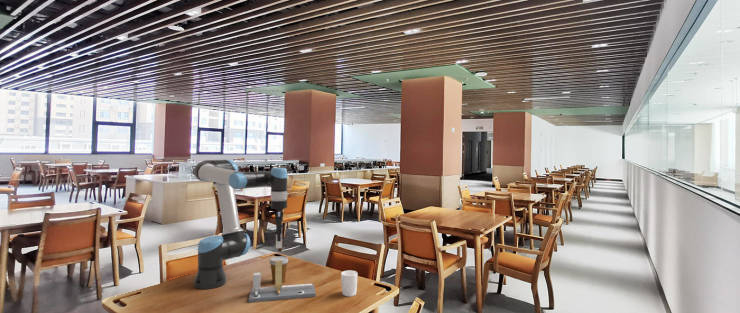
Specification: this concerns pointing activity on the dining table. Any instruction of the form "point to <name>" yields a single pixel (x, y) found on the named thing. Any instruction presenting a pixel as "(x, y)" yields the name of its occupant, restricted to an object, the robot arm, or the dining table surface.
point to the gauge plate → (285, 291)
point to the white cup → (349, 282)
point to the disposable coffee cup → (284, 266)
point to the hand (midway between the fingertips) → (279, 244)
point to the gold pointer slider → (278, 275)
